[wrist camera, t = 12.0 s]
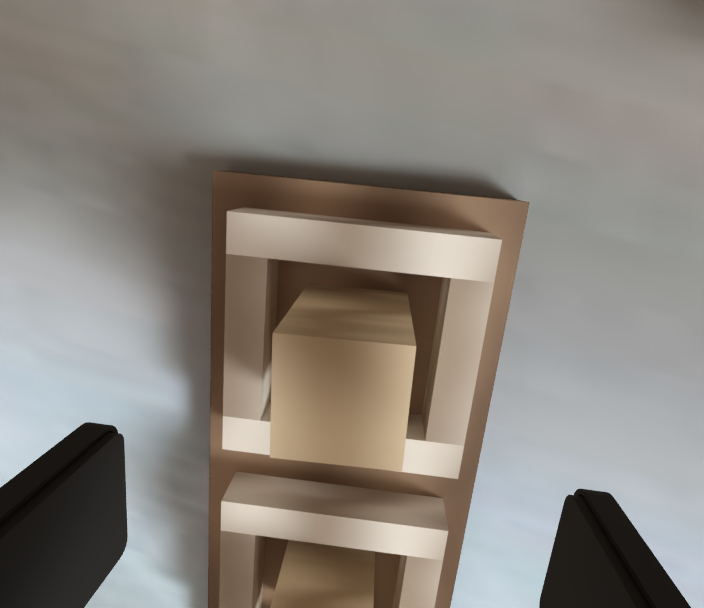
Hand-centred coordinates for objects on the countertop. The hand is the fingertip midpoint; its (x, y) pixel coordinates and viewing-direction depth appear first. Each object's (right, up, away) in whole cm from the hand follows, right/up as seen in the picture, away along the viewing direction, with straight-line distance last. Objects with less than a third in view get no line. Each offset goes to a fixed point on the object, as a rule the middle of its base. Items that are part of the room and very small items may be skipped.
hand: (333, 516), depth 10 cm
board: (0, -2, +13) cm, 13 cm away
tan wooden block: (0, +3, +9) cm, 10 cm away
